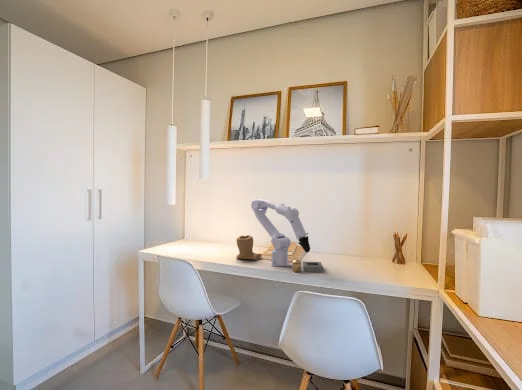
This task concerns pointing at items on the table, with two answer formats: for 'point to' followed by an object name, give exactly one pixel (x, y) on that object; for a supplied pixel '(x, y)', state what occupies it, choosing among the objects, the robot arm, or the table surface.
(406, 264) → the table surface
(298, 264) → the piston
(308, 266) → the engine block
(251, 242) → the brown boot
